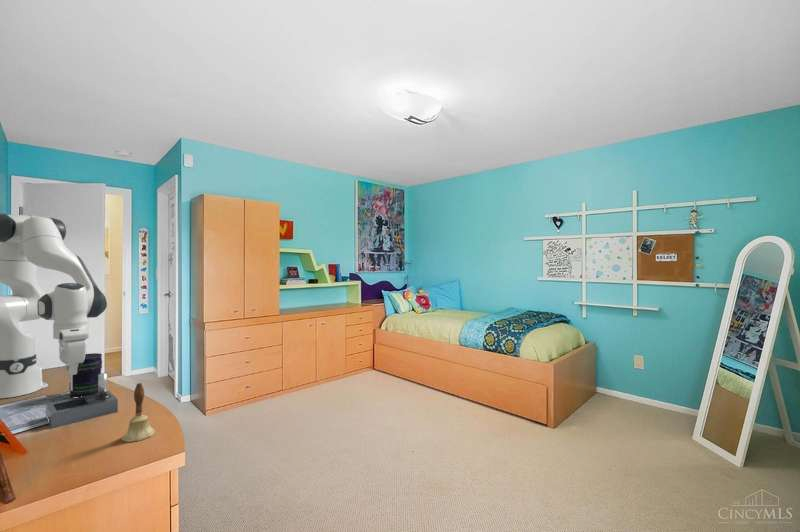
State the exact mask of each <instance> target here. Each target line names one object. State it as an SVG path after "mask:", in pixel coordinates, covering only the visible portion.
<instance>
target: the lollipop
mask: <svg viewBox="0 0 800 532" xmlns="http://www.w3.org/2000/svg"><path fill="white" fill-rule="evenodd" d="M58 357H59V358H58V359H59V361H60V362H61V363H63V364H64V365H65V364H69V363H68V362H67V361H66V360H65V350H64V349H63V350H62V351H61V353H60V354H59V356H58ZM69 375H70V374H69ZM69 379H70V381H69V387H70V389H71V391H72V375H70V378H69Z"/></svg>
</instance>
